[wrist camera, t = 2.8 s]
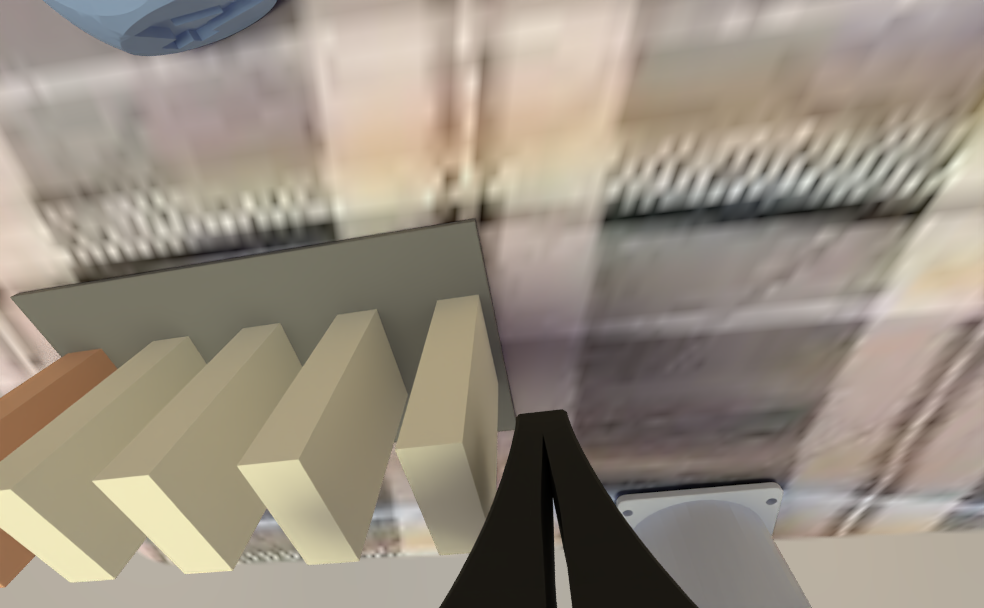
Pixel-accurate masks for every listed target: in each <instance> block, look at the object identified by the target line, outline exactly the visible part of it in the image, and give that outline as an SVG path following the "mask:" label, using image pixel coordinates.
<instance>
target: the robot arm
mask: <svg viewBox="0 0 984 608" xmlns="http://www.w3.org/2000/svg"><path fill="white" fill-rule="evenodd" d="M782 497H783V490H782V489H781V487H780V486H779V484H777V483H774V482H767V483H756V484H744V485H732V486H721V487H709V488H697V489H686V490H674V491H663V492H651V493H639V494H628V495H622V496H620V497H619V498H618V499H617V500H616V505H615V504H614V502H613V500H612V499H611V497H610V496H609V494H608V493H607V491H606V490H605V488H604V487H603V485H602V483H601V482H600V480H599V479H598V477H597V475H596V474H595V472H594V470H593V468H592V467H591V465H590V463H589V461H588V460H587V458H586V456H585V454H584V452H583V450H582V448H581V446H580V444H579V442H578V440H577V438H576V436H575V434H574V431H573V429H572V426H571V424H570V421H569V418H568V415H567V412H566V411H564V410H563V409H562V410H553V411H543V412H534V413H525V414H519V415H518V416H517V417H516V425H515V431H514V436H513V441H512V445H511V449H510V453H509V456H508V460H507V463H506V466H505V469H504V472H503V476H502V479H501V482H500V484H499V487H498V490H497V492H496V495H495V498H494V500H493V503H492V505H491V508H490V511H489V513H488V515H487V518H486V520H485V522H484V525H483V527H482V529H481V531H480V534H479V536H478V538H477V540H476V542H475V544H474V546H473V548H472V550H471V552H470V554H469V556H468V558H467V560H466V562H465V564H464V566H463V568H462V569H461V571H460V574H459V575H458V577H457V579H456V581H455V582H454V584H453V586H452V588H451V589H450V591H449V593H448V594H447V596H446V598H445V599H444V601H443V602H442V604H441V606H440V607H439V608H557V602H556V588H555V562H554V523H553V500H554V505H555V510H556V514H557V519H558V524H559V529H560V534H561V539H562V543H563V548H564V553H565V558H566V562H567V567H568V575H569V584H570V592H571V600H572V608H812V607H811V605H810V604H809V602H808V600H807V599H806V597H805V595H804V593H803V591H802V589H801V588H800V586H799V584H798V582H797V581H796V579H795V577H794V575H793V574H792V572H791V570H790V568H789V566H788V565H787V563H786V561H785V559H784V558H783V556H782V554H781V552H780V550H779V549H778V547H777V545H776V543H775V542H774V540H773V538H772V534H773V530H774V526H775V523H776V519H777V515H778V511H779V508H780V504H781V500H782Z"/></svg>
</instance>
